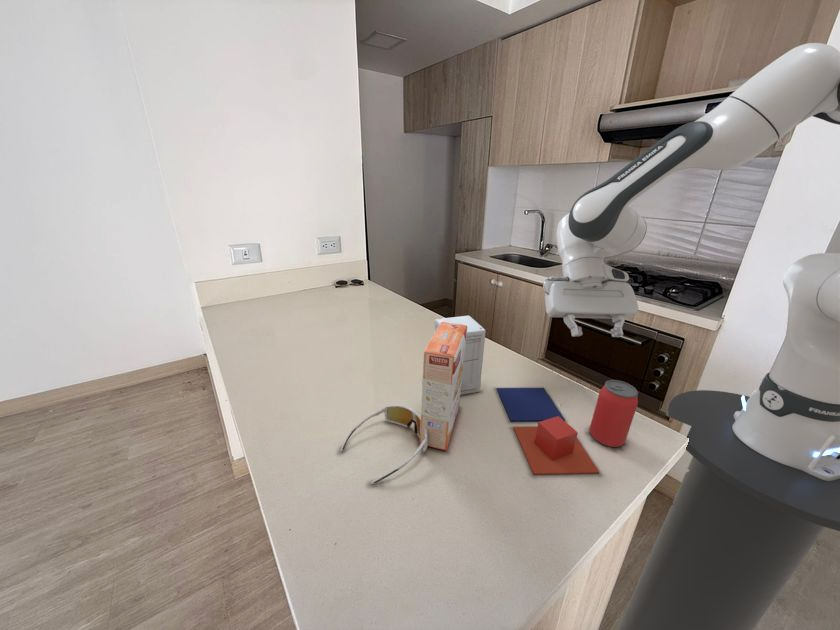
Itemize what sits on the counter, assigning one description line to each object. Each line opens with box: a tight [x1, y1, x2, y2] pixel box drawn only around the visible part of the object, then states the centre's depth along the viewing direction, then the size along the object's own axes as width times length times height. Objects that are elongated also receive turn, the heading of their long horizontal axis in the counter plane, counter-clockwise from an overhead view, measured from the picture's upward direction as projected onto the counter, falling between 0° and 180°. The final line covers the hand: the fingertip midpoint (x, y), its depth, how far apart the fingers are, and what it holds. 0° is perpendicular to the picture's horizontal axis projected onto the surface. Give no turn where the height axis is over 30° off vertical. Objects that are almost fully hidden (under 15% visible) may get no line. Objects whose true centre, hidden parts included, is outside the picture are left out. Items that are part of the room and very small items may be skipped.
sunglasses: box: [340, 403, 428, 485], centre depth 65 cm, size 14×15×5 cm
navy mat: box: [496, 387, 566, 423], centre depth 79 cm, size 12×12×1 cm
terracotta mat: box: [513, 426, 600, 476], centre depth 66 cm, size 12×12×1 cm
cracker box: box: [419, 322, 467, 451], centre depth 68 cm, size 14×6×21 cm, turn 164°
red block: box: [535, 416, 579, 460], centre depth 65 cm, size 5×5×5 cm
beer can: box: [589, 379, 639, 448], centre depth 68 cm, size 7×7×12 cm
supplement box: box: [433, 314, 487, 396], centre depth 82 cm, size 10×9×17 cm
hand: (597, 336), depth 73 cm, fingers open, 8 cm apart
